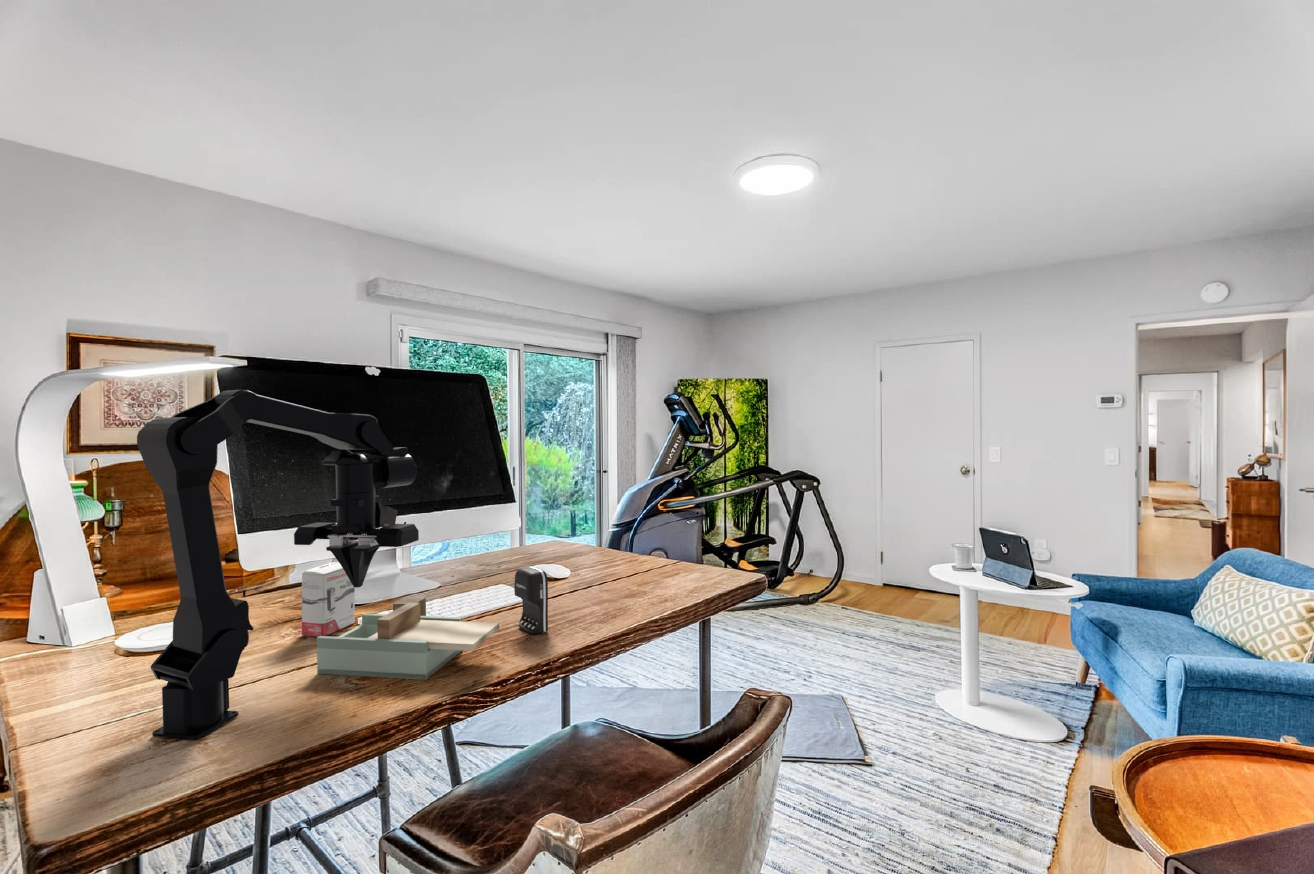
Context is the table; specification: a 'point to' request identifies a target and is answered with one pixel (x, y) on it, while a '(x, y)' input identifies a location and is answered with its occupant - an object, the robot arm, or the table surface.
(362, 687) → the table surface
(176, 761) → the table surface
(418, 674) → the pale green tray
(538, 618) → the black handheld device
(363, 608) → the table surface
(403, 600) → the small brown rectangular block
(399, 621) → the lid
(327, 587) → the ink box
